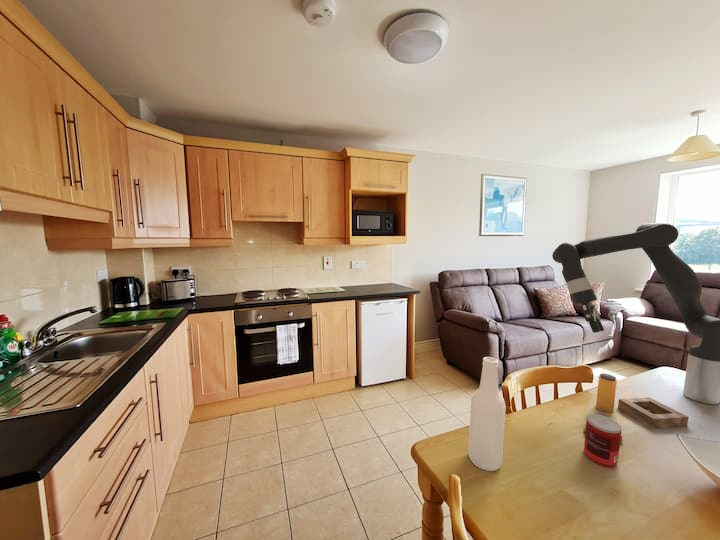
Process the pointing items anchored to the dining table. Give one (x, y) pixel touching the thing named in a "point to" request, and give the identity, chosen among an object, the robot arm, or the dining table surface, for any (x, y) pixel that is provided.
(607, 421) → the canned food
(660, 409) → the wooden square frame
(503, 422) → the alcohol
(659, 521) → the dining table surface
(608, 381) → the orange travel mug
